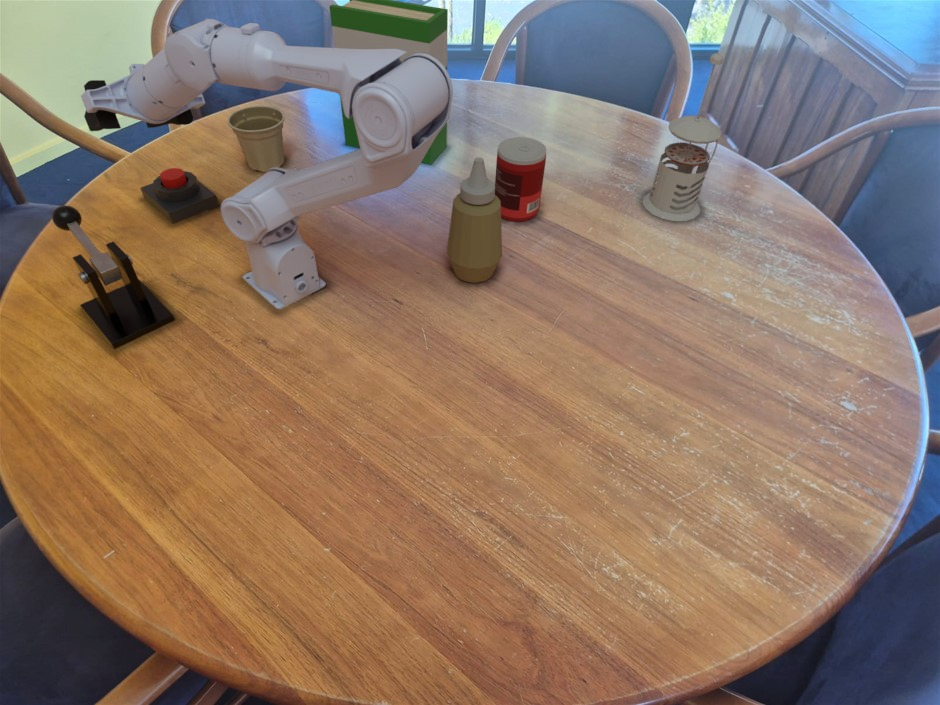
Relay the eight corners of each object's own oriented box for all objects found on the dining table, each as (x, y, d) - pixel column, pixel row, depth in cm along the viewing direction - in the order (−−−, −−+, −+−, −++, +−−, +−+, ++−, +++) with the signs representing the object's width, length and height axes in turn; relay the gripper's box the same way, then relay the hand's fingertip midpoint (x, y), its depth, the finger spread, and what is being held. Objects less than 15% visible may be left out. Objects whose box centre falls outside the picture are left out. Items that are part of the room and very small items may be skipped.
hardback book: (345, 144, 117) (329, 6, 100) (364, 128, 122) (351, -7, 105) (431, 164, 113) (429, 23, 96) (446, 146, 118) (447, 9, 101)
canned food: (539, 198, 107) (547, 138, 99) (538, 225, 101) (546, 163, 93) (495, 195, 107) (499, 134, 99) (491, 221, 101) (495, 159, 93)
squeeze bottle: (495, 292, 89) (505, 179, 76) (440, 283, 90) (440, 171, 77) (504, 259, 94) (515, 148, 81) (453, 251, 95) (455, 141, 82)
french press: (630, 200, 107) (668, 49, 89) (674, 181, 112) (719, 34, 94) (674, 228, 102) (724, 72, 84) (718, 206, 107) (775, 55, 89)
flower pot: (262, 183, 107) (251, 136, 101) (227, 165, 111) (215, 118, 104) (304, 162, 112) (296, 116, 106) (269, 146, 116) (259, 100, 110)
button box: (219, 206, 101) (213, 184, 99) (173, 225, 97) (165, 203, 95) (190, 182, 106) (183, 161, 103) (144, 199, 102) (136, 177, 99)
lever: (52, 223, 81) (43, 205, 78) (77, 214, 82) (69, 196, 80) (102, 289, 77) (95, 273, 74) (127, 278, 79) (121, 262, 76)
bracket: (83, 311, 83) (50, 251, 76) (141, 285, 87) (115, 227, 80) (115, 350, 78) (83, 290, 71) (175, 321, 82) (150, 262, 75)
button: (191, 184, 99) (188, 174, 98) (169, 192, 98) (166, 182, 96) (180, 175, 101) (177, 165, 100) (159, 183, 99) (155, 173, 98)
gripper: (209, 51, 78) (159, 90, 87) (91, 46, 67) (48, 91, 76) (229, 107, 80) (178, 140, 88) (116, 112, 69) (71, 149, 77)
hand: (119, 121), depth 82 cm, fingers open, 7 cm apart
